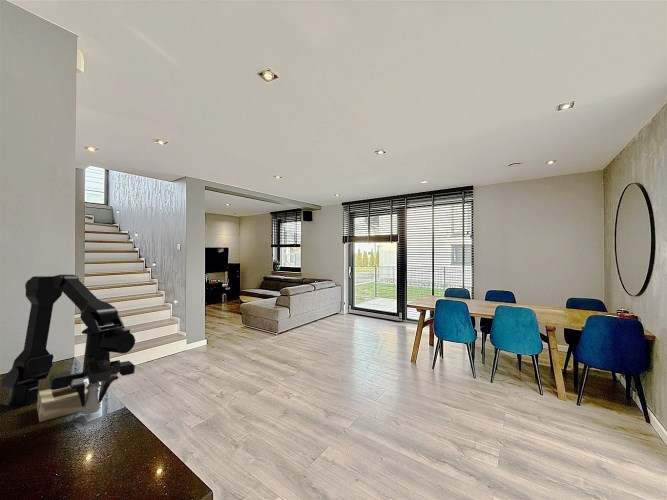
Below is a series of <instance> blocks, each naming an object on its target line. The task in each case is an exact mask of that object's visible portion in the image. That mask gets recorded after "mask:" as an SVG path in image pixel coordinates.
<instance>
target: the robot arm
mask: <svg viewBox="0 0 667 500" xmlns="http://www.w3.org/2000/svg"><path fill="white" fill-rule="evenodd" d="M24 287H25V297H26V298H27V300H28V301H29V302H30V311H29V315H28V316H29V317H28V321H27V322H28V323H27V328H26V334H25V339H24V345H23V350H22V351H21V352H20V353H19V355H17V357H15V359H14V361H13V364H12V367H11V369H10V370H9V371H8V372H7V373H6V374H5V375H4V376H3V377H2V379H1V387H5V388H9V395H8V396H9V397H8V401H6V402H3V403H1V406H2V407H6V408H13V409H14V408H15V409H20V408H23V407H24V406H27V405H30V404H34V403H36V402H38V394H39V388H40V387H39V385H40V381H42V380H45V379H47V378H48V375H49V373H50V371H51V368H52V367H53V360H54V354H53V353H50V352H49V350H47V347H48V346H47V345H48V338H49V332H50V327H51V320H52V314H53V309H54V304H55V303H56V302H57V301H58V300H59V299H60V298H61V297H62V295H63V294H64V295H65V296H66V297H67V298H68V299H69V300H70V301H71V302H72V303H73V304H74V305H75V306H76V307H77V308H78V310H79V311H80V316H79V317H80V319H81V321H82V322H83V324H84V325H85V326H86V328H85V329H83V330H82V331H81V334H82V335H86V341H85V347H84V349H85V350H84V357H83V363H82V364H83V365H82V372H77V373H71V371H70V370H69V371H63V372H56V373H52V374H51V375H50V377H49V381H48V386H49V389H51V390H56V389H61V388H66V387H68V386H70V388H71V389H74V388H76V390H77V392H78V395H79V399H80V402H81V405H82V407H83V406H84V404H85V384H84V382H85V380H86V379H87V380H88V384H89V383H90V384H94V383H97V382H99V383H100V385H101V386H100V387H99V392H98V400H99V402H100V403H102V401H103V399H104V396H105V395H106V393H107V391H108V389H109V387H110V386H111V384H112V383H113V382H114V381H115V380H116V381H117V380H119V377H120V376H118V374H120V375H121V376H129V375H134V374H135V370H136V369H135V368H136V366H135V364H134V363H132V362H131V361H130V360H126V361H121V360H119V359H117V360H112V361H111V359H110V355H111V353H115V354H122V355H123V354H127V353H129V352H130V351H131V350H132V349H133V348H134V346H135V344H136V338H135V336H134V334H133V333H131V329H130V328H125V325H124V322H123V320H122V318H121V317H120V314H119V312H118V309H117V307H115V306H113V305H112V304H110V303H109V302H106V301H104V300H101V299H98V298H97V297H96V296H95V294H94V293H92V291H90V289H88V287H87V286H86V285H85V284H84V283H82V281H80V279H79V276H78V275H75V274H58V275H54V276H53V275H47V276H44V275H40V276H39V275H36V276H32V277H31V278H30V279H28V280H27V281H26V282H25V285H24Z"/></svg>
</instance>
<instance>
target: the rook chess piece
mask: <svg viewBox="0 0 667 500" xmlns="http://www.w3.org/2000/svg"><path fill="white" fill-rule="evenodd" d="M100 386H101V383H100V382H97V383H94V384H90V383H89V382H88V386H87V387H86V388H87V390H88V392H87V398H86V401H85V404H84V406H83V407H82V408H81V409H82V411H80V413H81V414H82V415H84V416H85V415H92V414H96V413H97V412H99V411H100V409H101V408H102V407H101V402H99V392H100Z"/></svg>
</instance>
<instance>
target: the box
mask: <svg viewBox="0 0 667 500" xmlns="http://www.w3.org/2000/svg"><path fill="white" fill-rule="evenodd" d="M83 382H84V384H85V401H86V398H87V392H88V390H87V388H86V387H87V386H88V384H89V382H87V381H83ZM36 402H37V403H36V411H37V415H38V421H39V423H40V422H41V423H42V422H46V421H49V420H52V419H56V418H60V417H64V416H68V415H71V414H75V413H81V411H82V409H81V408H82V405H81V402H80V399H79V395H78V392H77V390H76V388H74V389H71V388H70V386H68V387H66V388H61V389H56V390H51V389H50V388H47V389H44V390H43V389H42V390H38V401H36Z"/></svg>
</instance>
